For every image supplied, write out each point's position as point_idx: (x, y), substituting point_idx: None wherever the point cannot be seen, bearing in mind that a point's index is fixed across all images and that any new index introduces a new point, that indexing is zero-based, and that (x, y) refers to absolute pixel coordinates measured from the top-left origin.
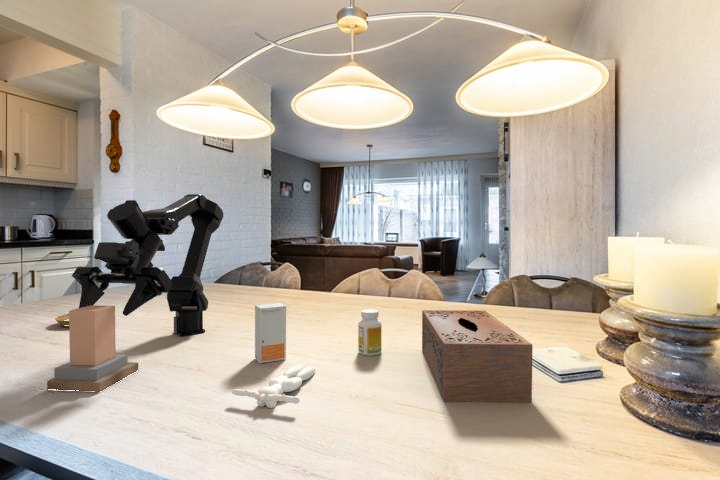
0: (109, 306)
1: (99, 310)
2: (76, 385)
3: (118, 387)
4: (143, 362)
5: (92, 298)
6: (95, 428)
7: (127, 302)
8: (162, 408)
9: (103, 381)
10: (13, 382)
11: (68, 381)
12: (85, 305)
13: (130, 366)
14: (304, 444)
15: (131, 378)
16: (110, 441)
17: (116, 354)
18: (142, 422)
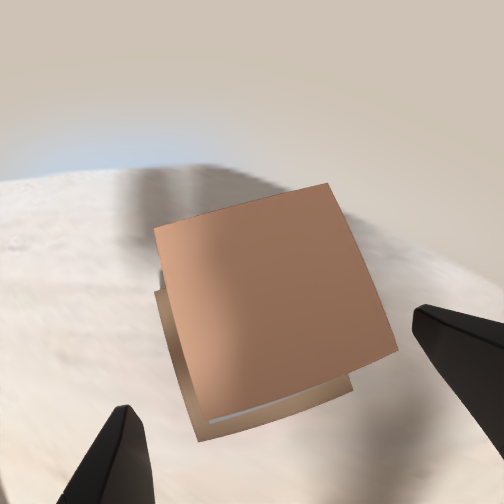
0: (212, 382)
1: (164, 271)
2: None
3: (146, 336)
4: (258, 488)
5: (495, 402)
6: (52, 205)
7: (108, 456)
8: (4, 289)
9: (158, 305)
10: (416, 255)
11: None
12: (449, 344)
13: (188, 410)
14: None
15: (169, 391)
16: (17, 196)
17: (249, 411)
18: (6, 244)
